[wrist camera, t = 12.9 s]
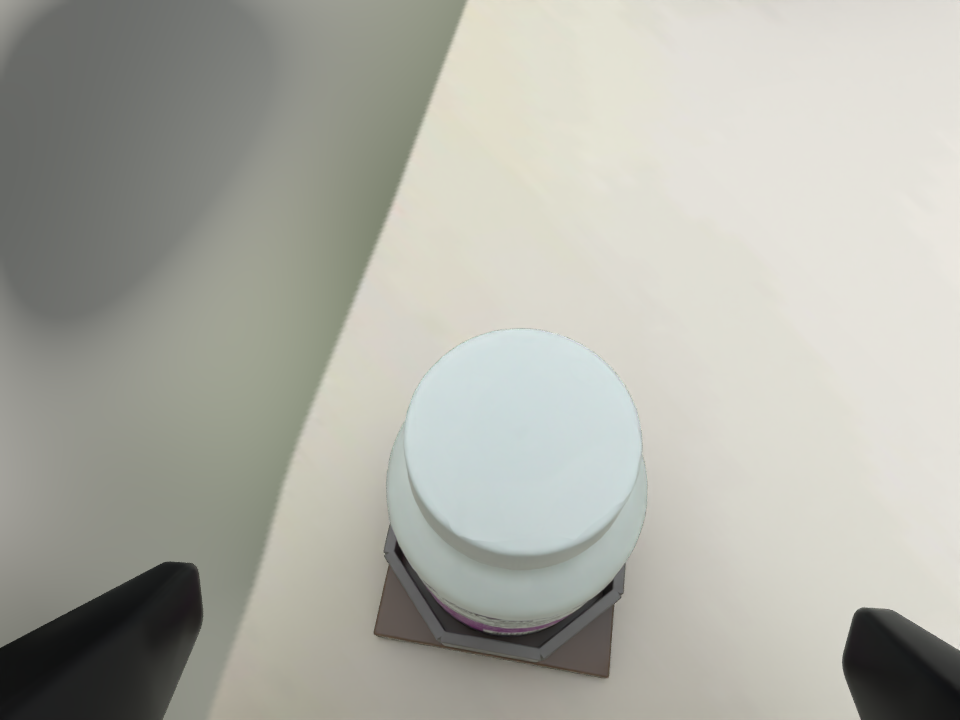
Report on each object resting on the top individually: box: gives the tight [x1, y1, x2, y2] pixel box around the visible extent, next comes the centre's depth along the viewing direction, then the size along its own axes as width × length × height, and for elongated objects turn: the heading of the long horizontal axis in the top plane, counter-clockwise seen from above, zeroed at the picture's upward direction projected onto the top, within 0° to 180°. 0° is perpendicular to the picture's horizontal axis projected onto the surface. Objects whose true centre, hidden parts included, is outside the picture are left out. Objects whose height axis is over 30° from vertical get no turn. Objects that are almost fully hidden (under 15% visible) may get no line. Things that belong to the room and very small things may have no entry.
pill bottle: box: [386, 328, 647, 637], centre depth 15 cm, size 5×5×10 cm
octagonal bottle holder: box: [374, 524, 626, 678], centre depth 19 cm, size 7×7×2 cm
